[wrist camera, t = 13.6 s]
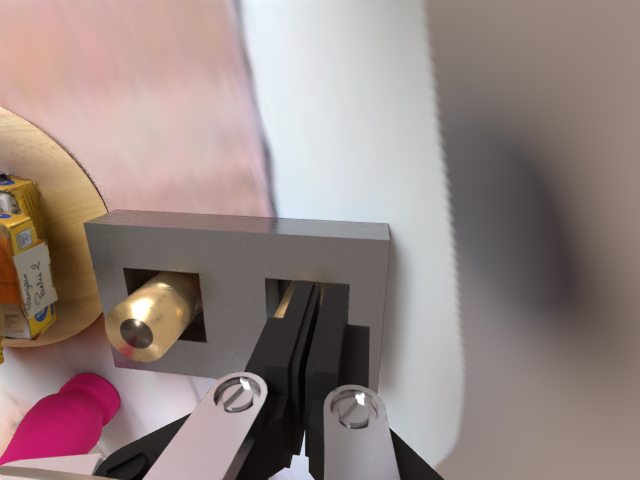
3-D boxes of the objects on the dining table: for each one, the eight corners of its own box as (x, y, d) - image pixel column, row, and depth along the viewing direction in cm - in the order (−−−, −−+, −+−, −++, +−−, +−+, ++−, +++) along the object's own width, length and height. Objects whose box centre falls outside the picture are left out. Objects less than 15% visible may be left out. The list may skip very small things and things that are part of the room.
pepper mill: (137, 405, 40) (-64, 657, 22) (98, 428, 43) (-115, 675, 24) (91, 358, 39) (-166, 585, 20) (53, 385, 41) (-210, 611, 23)
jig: (116, 209, 32) (39, 239, 25) (387, 223, 29) (392, 262, 22) (141, 341, 37) (82, 399, 30) (376, 365, 34) (377, 436, 27)
